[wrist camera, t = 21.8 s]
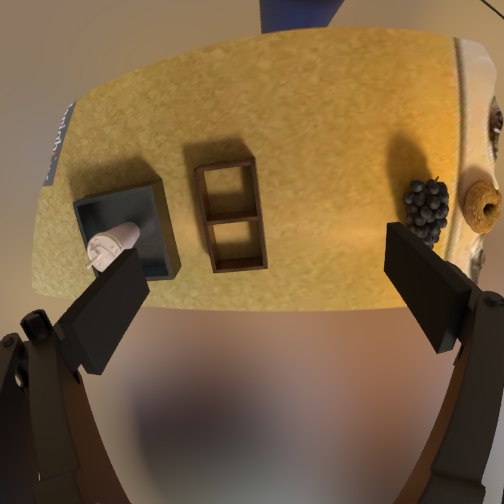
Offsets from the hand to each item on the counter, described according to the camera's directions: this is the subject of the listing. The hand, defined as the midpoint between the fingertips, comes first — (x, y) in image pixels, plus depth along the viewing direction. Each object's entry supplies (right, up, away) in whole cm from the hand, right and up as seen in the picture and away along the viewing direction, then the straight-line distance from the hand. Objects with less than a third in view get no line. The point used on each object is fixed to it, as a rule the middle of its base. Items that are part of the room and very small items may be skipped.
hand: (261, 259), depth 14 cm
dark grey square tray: (-22, +4, +33) cm, 40 cm away
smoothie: (-21, +4, +33) cm, 39 cm away
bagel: (+43, +10, +28) cm, 52 cm away
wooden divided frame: (-3, +6, +31) cm, 32 cm away
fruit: (+27, +7, +29) cm, 41 cm away
